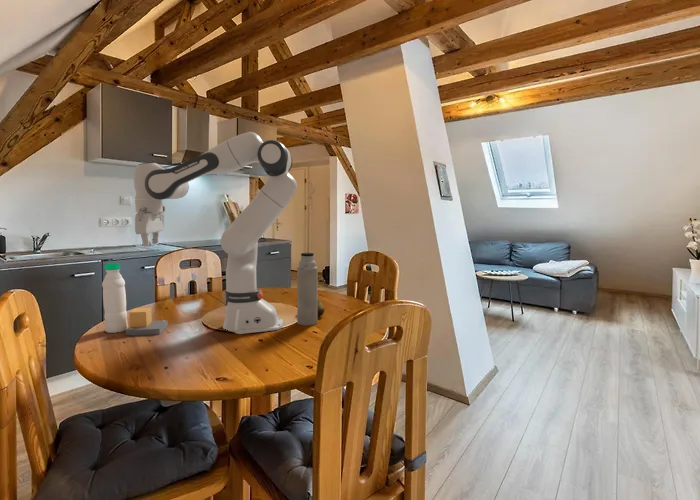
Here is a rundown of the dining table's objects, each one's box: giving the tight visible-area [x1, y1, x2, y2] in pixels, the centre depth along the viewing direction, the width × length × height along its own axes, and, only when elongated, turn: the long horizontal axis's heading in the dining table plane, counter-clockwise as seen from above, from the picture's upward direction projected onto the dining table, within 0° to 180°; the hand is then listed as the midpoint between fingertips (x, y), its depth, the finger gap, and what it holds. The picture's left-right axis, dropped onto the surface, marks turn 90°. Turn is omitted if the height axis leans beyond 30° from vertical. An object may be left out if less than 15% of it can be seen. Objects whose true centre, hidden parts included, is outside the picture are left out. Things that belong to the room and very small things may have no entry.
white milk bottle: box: [101, 262, 129, 334], centre depth 136 cm, size 7×7×25 cm
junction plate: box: [125, 319, 169, 336], centre depth 137 cm, size 11×10×6 cm
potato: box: [317, 298, 325, 318], centre depth 160 cm, size 8×13×8 cm, turn 13°
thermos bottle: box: [296, 252, 319, 326], centre depth 148 cm, size 8×8×28 cm
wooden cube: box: [128, 307, 153, 327], centre depth 138 cm, size 6×6×6 cm
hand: (151, 244), depth 140 cm, fingers open, 8 cm apart
